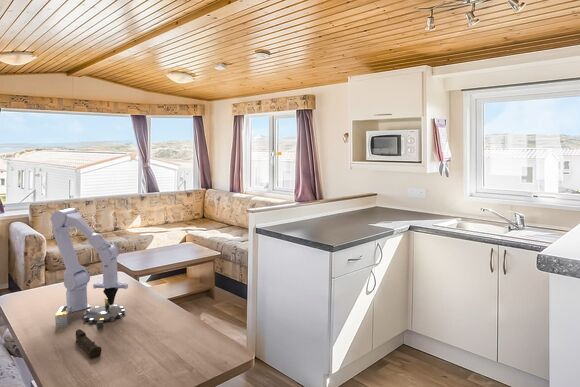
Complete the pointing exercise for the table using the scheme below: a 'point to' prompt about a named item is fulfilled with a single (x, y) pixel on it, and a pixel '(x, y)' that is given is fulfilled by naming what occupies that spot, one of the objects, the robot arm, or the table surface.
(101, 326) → the index pointer
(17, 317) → the table surface
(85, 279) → the robot arm
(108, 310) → the sprocket
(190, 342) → the table surface
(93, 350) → the dark brown bar
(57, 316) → the knob box
